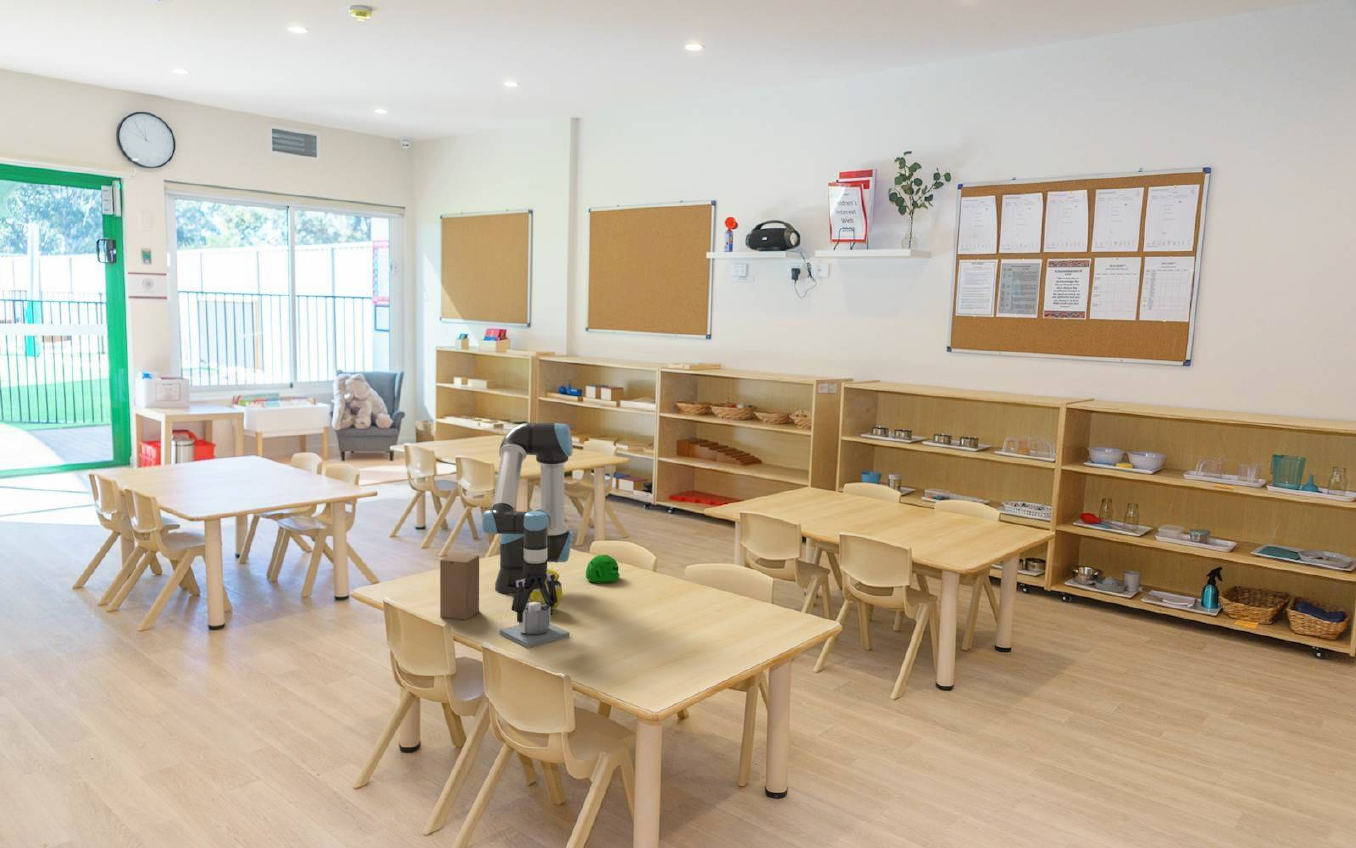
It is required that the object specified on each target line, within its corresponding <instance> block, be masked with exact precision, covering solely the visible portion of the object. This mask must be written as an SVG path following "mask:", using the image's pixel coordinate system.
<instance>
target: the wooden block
mask: <svg viewBox="0 0 1356 848" xmlns="http://www.w3.org/2000/svg"><path fill="white" fill-rule="evenodd" d="M439 565H440V566H439V568H440V569H439V571H440V572H439V573H440V574H439V576H440V577H439V578H440V579H439V582H440V583H439V584H440V585H439V586H440V587H439V588H440V589H439V593H440V595H439V597H440V599H439V601H440V602H439V603H440V604H439V605H440V606H439V608H440V609H439V612H440V613H439V616H440V618H446V619H447V618H448V619H457V620H465V621H466V620H468V619H470V618H472V616H474V615H476V614H477V613H478V612H479V611H480V555H479V554H469V553H459V552H452V553H450V554H448V555H447V556H445V557H443V558H441V559H440V562H439Z"/></svg>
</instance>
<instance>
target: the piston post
mask: <svg viewBox="0 0 1356 848" xmlns="http://www.w3.org/2000/svg"><path fill="white" fill-rule="evenodd" d="M528 604H529V611H540V610H541V603H539V602H531V603H529V602H528ZM570 634H571V633H570V632H569V631H567V630H566V629H564V628H560V627H558V626H556V625H554V624H552V623H550V626H549V629H548V631H547V632H544V633H540V634H526V633H522V632H520V631H519V624H517V625H513V626H509V627H505V628H501V629H499V635H500V636H502V637H504V638H506V639H508V640H510V641H512V642H514V643H517V644H518V645H521V646H522V647H524V648H527V649H530V648H534V647H538V646H541V645H544V644H548V643H552V642H557V641H559V640H564V639H568V638H570Z"/></svg>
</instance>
